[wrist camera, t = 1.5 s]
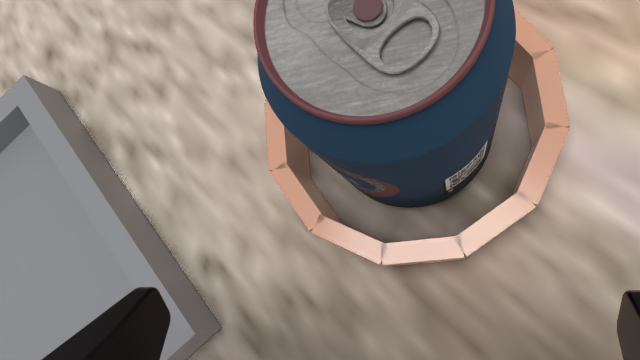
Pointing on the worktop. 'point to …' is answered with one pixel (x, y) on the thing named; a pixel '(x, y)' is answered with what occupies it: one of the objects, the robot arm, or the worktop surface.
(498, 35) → the soda can
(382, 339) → the worktop surface
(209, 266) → the worktop surface
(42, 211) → the tray
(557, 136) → the ring holder
